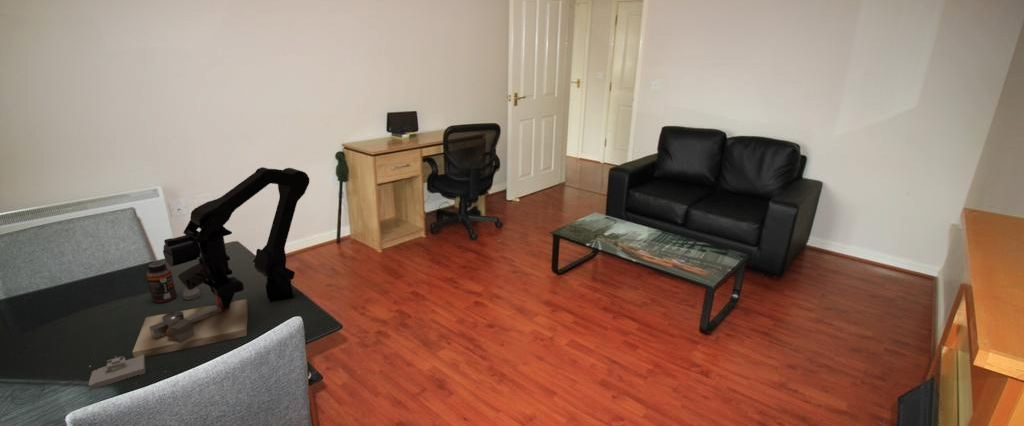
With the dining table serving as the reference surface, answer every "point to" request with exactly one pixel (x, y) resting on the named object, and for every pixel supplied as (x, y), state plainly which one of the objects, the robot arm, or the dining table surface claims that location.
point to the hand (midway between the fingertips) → (223, 305)
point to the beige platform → (117, 371)
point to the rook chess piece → (190, 293)
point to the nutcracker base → (201, 330)
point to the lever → (177, 316)
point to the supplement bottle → (160, 282)
